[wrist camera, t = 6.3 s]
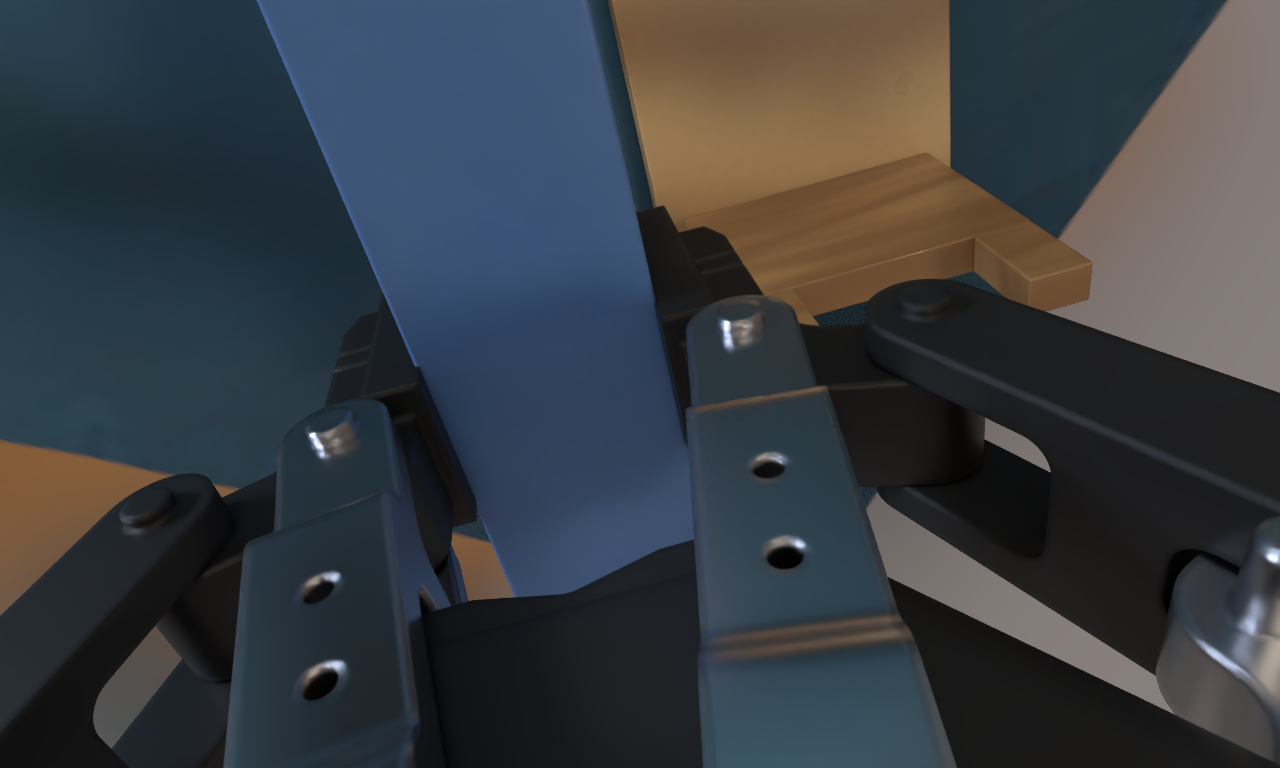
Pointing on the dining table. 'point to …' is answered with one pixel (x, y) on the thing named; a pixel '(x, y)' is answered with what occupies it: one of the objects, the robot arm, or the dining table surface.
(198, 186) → the dining table surface
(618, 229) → the handle
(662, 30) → the holder
